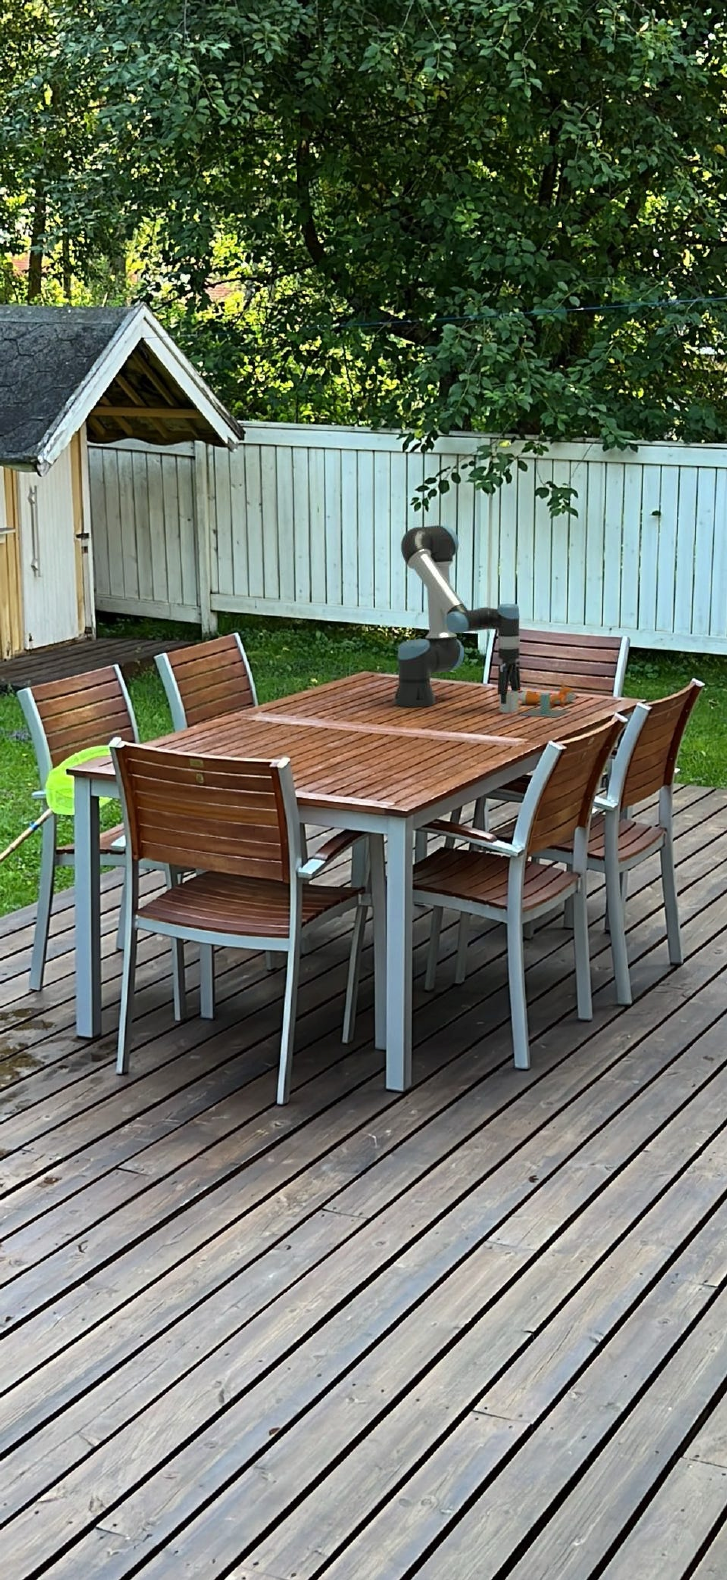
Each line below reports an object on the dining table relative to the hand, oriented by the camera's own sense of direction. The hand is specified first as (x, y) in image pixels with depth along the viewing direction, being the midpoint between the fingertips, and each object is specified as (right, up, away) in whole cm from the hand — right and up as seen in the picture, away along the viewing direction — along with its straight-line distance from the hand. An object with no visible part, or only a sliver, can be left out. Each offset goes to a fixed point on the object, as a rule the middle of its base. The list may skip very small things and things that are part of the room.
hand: (509, 710), depth 645 cm
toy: (+15, +3, +14) cm, 21 cm away
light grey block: (0, 0, 0) cm, 0 cm away
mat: (+12, -1, -6) cm, 14 cm away
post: (+12, -1, -6) cm, 14 cm away
